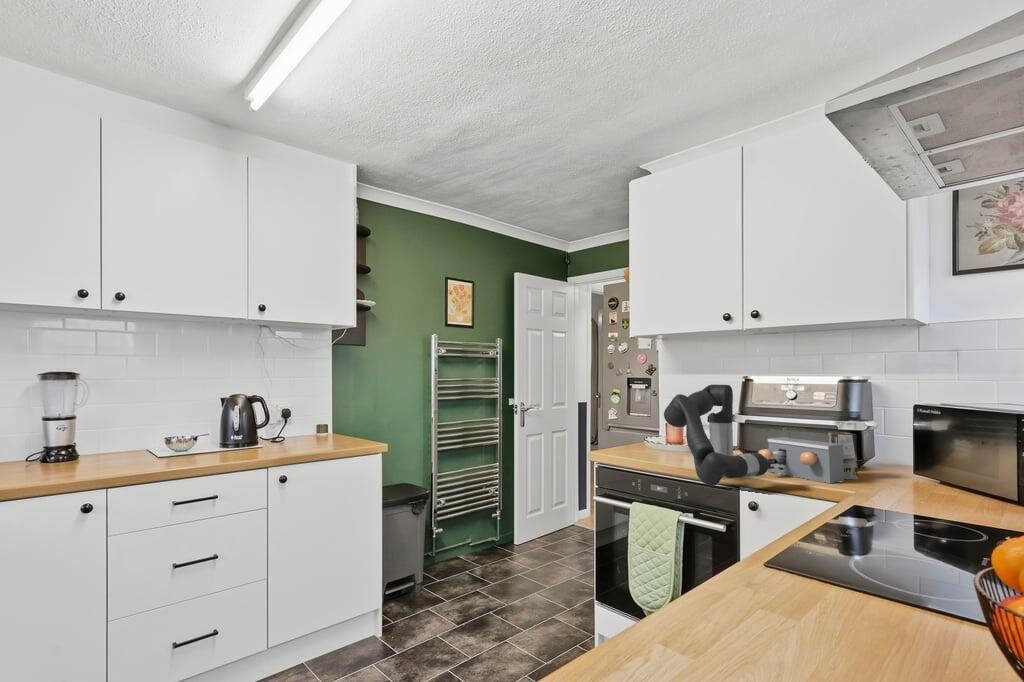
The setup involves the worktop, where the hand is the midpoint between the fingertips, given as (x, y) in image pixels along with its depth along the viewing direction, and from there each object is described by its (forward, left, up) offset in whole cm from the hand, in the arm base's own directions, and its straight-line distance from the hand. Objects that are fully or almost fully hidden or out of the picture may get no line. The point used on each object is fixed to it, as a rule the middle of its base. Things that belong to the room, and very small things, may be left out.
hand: (783, 461), depth 186 cm
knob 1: (-12, +11, -2) cm, 16 cm away
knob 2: (0, +18, -2) cm, 18 cm away
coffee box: (+1, +32, -8) cm, 33 cm away
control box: (-6, +20, -8) cm, 22 cm away
